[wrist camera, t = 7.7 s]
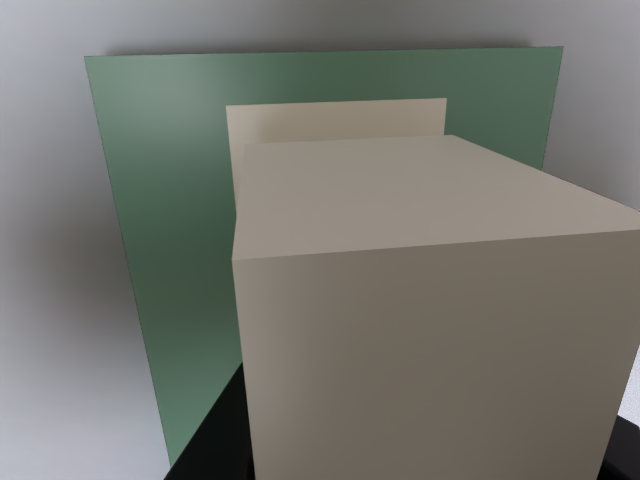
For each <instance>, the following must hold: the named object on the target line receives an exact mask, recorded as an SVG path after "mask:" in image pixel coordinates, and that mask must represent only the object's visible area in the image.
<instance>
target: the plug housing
mask: <svg viewBox="0 0 640 480" xmlns="http://www.w3.org/2000/svg"><path fill="white" fill-rule="evenodd" d="M232 267H233V276H234V285H235V295H236V304H237V313H238V322H239V331H240V341H241V350H242V359H243V368H244V377H245V386H246V396H247V405H248V414H249V423H250V432H251V441H252V451H253V460H254V469H255V478H256V480H596V479H597V476H598V473H599V470H600V467H601V464H602V461H603V457H604V454H605V451H606V448H607V445H608V442H609V439H610V435H611V432H612V429H613V426H614V423H615V420H616V417H617V413H618V410H619V407H620V404H621V401H622V398H623V395H624V391H625V388H626V385H627V382H628V379H629V376H630V373H631V369H632V366H633V363H634V360H635V357H636V354H637V351H638V347H639V344H640V211H638V210H635V209H633V208H630V207H628V206H625V205H623V204H621V203H618V202H616V201H613V200H611V199H608V198H606V197H603V196H601V195H599V194H596V193H594V192H591V191H589V190H586V189H584V188H581V187H579V186H577V185H574V184H572V183H569V182H567V181H564V180H562V179H559V178H557V177H555V176H552V175H550V174H547V173H545V172H542V171H540V170H537V169H535V168H533V167H530V166H528V165H525V164H523V163H520V162H518V161H515V160H513V159H511V158H508V157H506V156H503V155H501V154H498V153H496V152H493V151H491V150H489V149H486V148H484V147H481V146H479V145H476V144H474V143H471V142H469V141H467V140H464V139H462V138H459V137H457V136H454V135H437V136H415V137H392V138H370V139H348V140H326V141H304V142H282V143H260V144H245V148H244V157H243V166H242V174H241V183H240V192H239V201H238V209H237V218H236V227H235V236H234V244H233V253H232Z"/></svg>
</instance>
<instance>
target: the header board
mask: <svg viewBox="0 0 640 480" xmlns="http://www.w3.org/2000/svg"><path fill="white" fill-rule="evenodd" d="M563 47H564V46H557V47H509V48H460V49H412V50H364V51H316V52H267V53H219V54H171V55H122V56H84V59H85V64H86V69H87V74H88V78H89V83H90V88H91V92H92V97H93V102H94V107H95V111H96V116H97V121H98V125H99V130H100V135H101V140H102V144H103V149H104V154H105V159H106V163H107V168H108V173H109V177H110V182H111V187H112V192H113V196H114V201H115V206H116V211H117V215H118V220H119V225H120V229H121V234H122V239H123V244H124V248H125V253H126V258H127V262H128V267H129V272H130V277H131V281H132V286H133V291H134V296H135V300H136V305H137V310H138V314H139V319H140V324H141V329H142V333H143V338H144V343H145V348H146V352H147V357H148V362H149V366H150V371H151V376H152V381H153V385H154V390H155V395H156V399H157V404H158V409H159V414H160V418H161V423H162V428H163V433H164V437H165V442H166V447H167V451H168V456H169V461H170V466H171V467H172V466H173V464H174V463H175V461H176V460H177V458H178V457H179V455H180V454H181V452H182V451H183V449H184V448H185V446H186V445H187V443H188V442H189V440H190V439H191V437H192V436H193V434H194V433H195V431H196V430H197V428H198V427H199V425H200V424H201V422H202V421H203V419H204V418H205V416H206V415H207V413H208V412H209V410H210V409H211V407H212V406H213V404H214V403H215V401H216V400H217V398H218V397H219V395H220V394H221V392H222V391H223V389H224V388H225V386H226V385H227V383H228V382H229V380H230V379H231V377H232V376H233V374H234V373H235V371H236V370H237V368H238V367H239V365H240V364H241V362H243V359H242V350H241V341H240V331H239V322H238V313H237V304H236V295H235V285H234V276H233V267H232V253H233V244H234V236H235V227H236V218H237V209H238V201H239V192H240V183H241V174H242V166H243V157H244V148H245V144H260V143H282V142H304V141H326V140H348V139H370V138H392V137H415V136H437V135H454V136H457V137H459V138H462V139H464V140H467V141H469V142H471V143H474V144H476V145H479V146H481V147H484V148H486V149H489V150H491V151H493V152H496V153H498V154H501V155H503V156H506V157H508V158H511V159H513V160H515V161H518V162H520V163H523V164H525V165H528V166H530V167H533V168H535V169H537V170H540V171H541V169H542V163H543V158H544V152H545V147H546V141H547V136H548V130H549V125H550V119H551V113H552V108H553V102H554V97H555V91H556V86H557V80H558V75H559V69H560V64H561V58H562V53H563Z"/></svg>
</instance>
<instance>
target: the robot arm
mask: <svg viewBox="0 0 640 480" xmlns="http://www.w3.org/2000/svg"><path fill="white" fill-rule="evenodd" d="M164 480H256V478H255V469H254V460H253V451H252V441H251V432H250V423H249V414H248V405H247V396H246V386H245V377H244V368H243V362H241V364H240V365H239V367H238V368H237V370H236V371H235V373H234V374H233V376H232V377H231V379H230V380H229V382H228V383H227V385H226V386H225V388H224V389H223V391H222V392H221V394H220V395H219V397H218V398H217V400H216V401H215V403H214V404H213V406H212V407H211V409H210V410H209V412H208V413H207V415H206V416H205V418H204V419H203V421H202V422H201V424H200V425H199V427H198V428H197V430H196V431H195V433H194V434H193V436H192V437H191V439H190V440H189V442H188V443H187V445H186V446H185V448H184V449H183V451H182V452H181V454H180V455H179V457H178V458H177V460H176V461H175V463H174V464H173V466H172V467H171V469H170V471H169V472H168V474H167V475H166V477H165V478H164ZM596 480H640V428H639V427H638V426H637V425H636V424H634V423H632V422H630V421H628V420H626V419H624V418H622V417H621V416H619V415H617V417H616V420H615V423H614V426H613V429H612V432H611V435H610V439H609V442H608V445H607V448H606V451H605V454H604V457H603V461H602V464H601V467H600V470H599V473H598V476H597V479H596Z"/></svg>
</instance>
